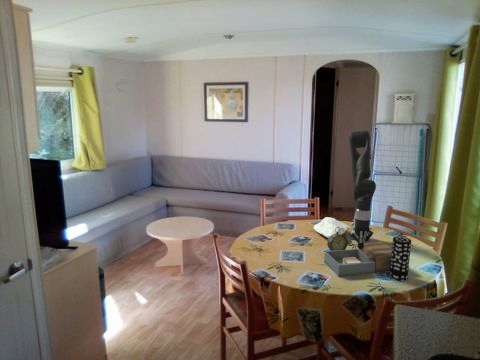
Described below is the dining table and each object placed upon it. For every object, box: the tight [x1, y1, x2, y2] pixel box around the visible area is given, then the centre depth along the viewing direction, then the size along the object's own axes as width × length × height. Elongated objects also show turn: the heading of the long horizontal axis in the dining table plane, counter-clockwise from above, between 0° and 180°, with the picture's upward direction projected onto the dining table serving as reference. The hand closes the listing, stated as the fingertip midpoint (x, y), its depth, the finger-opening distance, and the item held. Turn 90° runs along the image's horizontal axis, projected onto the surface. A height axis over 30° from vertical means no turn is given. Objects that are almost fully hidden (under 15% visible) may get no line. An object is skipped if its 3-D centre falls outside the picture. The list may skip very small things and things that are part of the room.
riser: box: [358, 241, 392, 274], centre depth 195 cm, size 18×14×9 cm
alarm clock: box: [326, 227, 348, 251], centre depth 209 cm, size 11×5×16 cm, turn 105°
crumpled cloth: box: [313, 216, 351, 239], centre depth 241 cm, size 24×35×9 cm
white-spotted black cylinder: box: [389, 236, 412, 282], centre depth 180 cm, size 8×8×20 cm
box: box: [323, 248, 376, 278], centre depth 192 cm, size 18×20×6 cm
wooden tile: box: [343, 257, 361, 264], centre depth 193 cm, size 7×7×3 cm
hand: (360, 248), depth 192 cm, fingers closed
